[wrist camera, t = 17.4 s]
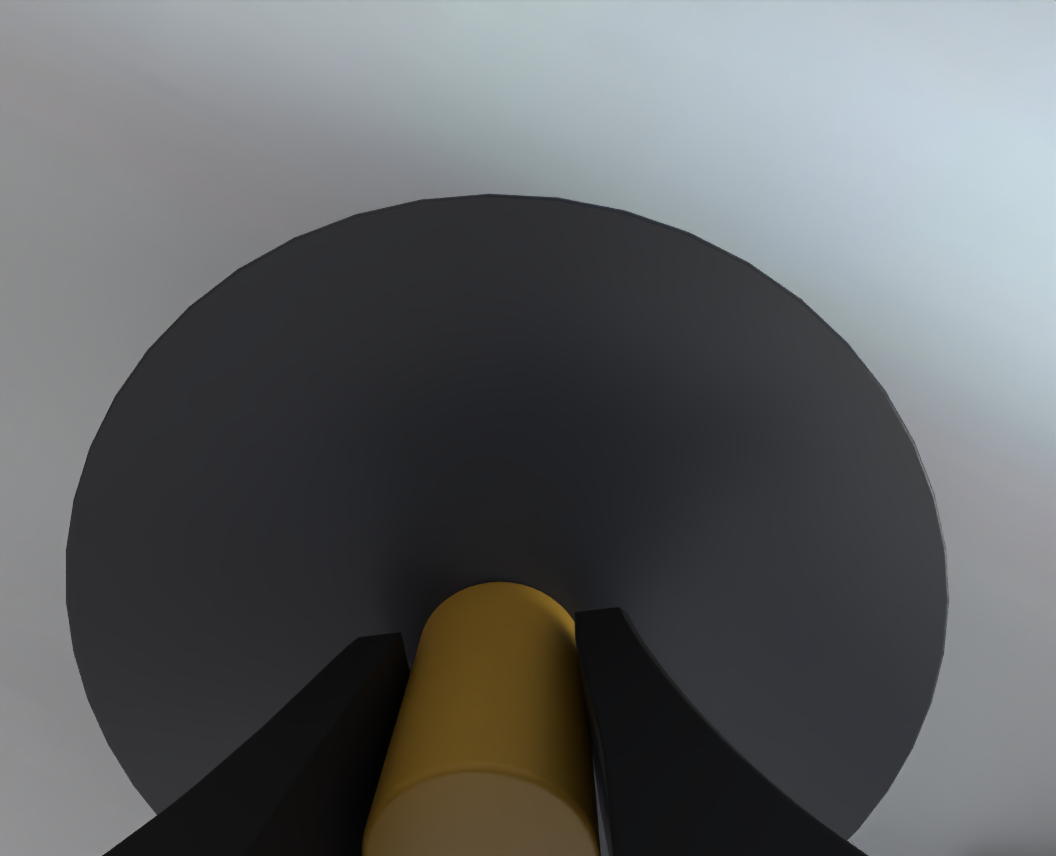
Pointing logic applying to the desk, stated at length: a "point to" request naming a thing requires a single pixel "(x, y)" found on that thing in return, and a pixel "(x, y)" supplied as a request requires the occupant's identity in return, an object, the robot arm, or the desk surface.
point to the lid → (507, 517)
